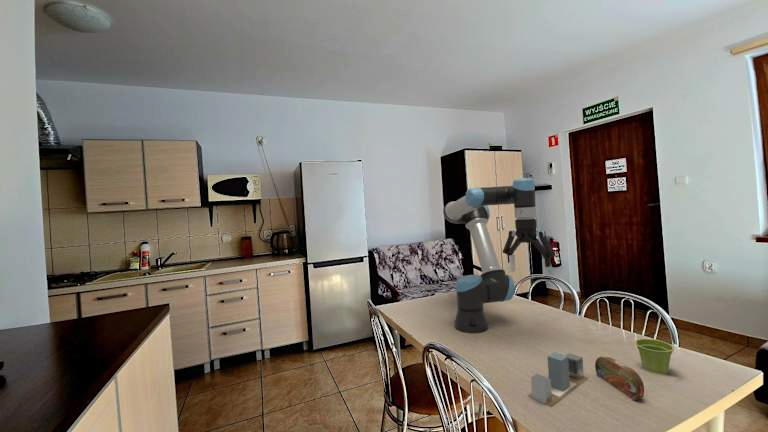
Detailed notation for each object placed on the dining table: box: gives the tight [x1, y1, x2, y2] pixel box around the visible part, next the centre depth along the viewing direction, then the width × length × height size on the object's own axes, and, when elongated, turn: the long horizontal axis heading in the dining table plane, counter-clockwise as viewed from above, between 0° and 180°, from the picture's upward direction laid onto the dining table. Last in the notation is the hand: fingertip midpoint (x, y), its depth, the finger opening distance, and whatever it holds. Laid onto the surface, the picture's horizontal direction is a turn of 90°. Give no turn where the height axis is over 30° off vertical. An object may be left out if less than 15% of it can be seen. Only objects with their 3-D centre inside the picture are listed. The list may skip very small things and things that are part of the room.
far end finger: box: [565, 352, 585, 380], centre depth 100 cm, size 4×4×6 cm
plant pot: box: [634, 338, 675, 376], centre depth 102 cm, size 9×9×9 cm
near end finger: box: [530, 373, 552, 406], centre depth 90 cm, size 4×4×6 cm
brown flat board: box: [527, 376, 590, 408], centre depth 95 cm, size 7×22×1 cm, turn 125°
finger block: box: [547, 351, 570, 391], centre depth 95 cm, size 4×5×9 cm
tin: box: [594, 356, 645, 401], centre depth 93 cm, size 15×3×8 cm, turn 5°
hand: (528, 273), depth 125 cm, fingers open, 13 cm apart
